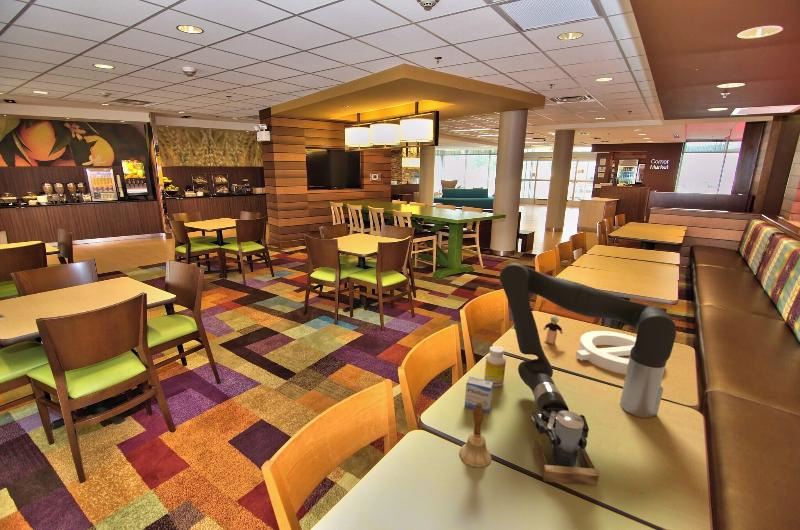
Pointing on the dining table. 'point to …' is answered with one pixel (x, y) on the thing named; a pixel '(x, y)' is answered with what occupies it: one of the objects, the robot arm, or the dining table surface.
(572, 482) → the wooden u-shaped bracket
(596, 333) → the ring with crossbar
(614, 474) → the dining table surface
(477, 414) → the hand bell
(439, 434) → the dining table surface
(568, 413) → the tin
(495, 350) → the supplement bottle
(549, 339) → the grandmother figurine
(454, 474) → the dining table surface
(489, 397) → the medicine box
